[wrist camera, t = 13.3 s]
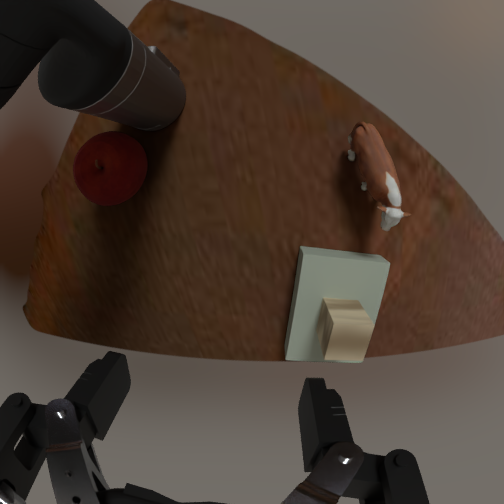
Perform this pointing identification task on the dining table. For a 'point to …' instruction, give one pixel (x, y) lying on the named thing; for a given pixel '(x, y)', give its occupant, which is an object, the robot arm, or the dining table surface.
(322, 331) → the maple block
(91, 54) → the robot arm
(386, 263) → the plinth
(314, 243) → the dining table surface
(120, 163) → the apple
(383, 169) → the bull figurine
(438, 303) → the dining table surface
